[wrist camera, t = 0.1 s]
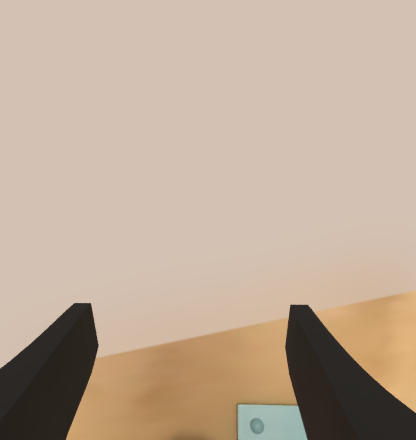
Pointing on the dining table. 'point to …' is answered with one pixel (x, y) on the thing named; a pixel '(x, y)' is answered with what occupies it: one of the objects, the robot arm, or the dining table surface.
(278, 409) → the baseplate
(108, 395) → the dining table surface
